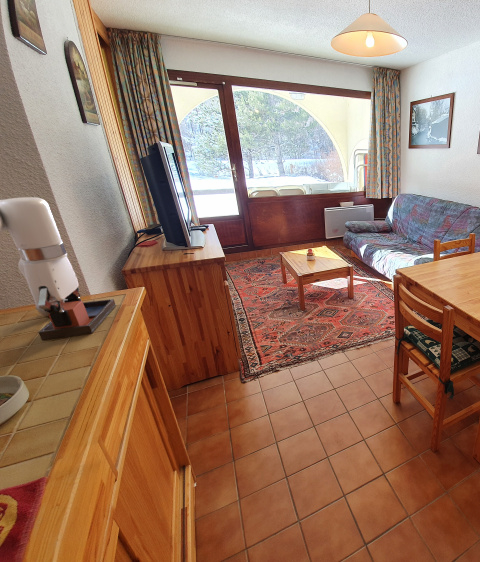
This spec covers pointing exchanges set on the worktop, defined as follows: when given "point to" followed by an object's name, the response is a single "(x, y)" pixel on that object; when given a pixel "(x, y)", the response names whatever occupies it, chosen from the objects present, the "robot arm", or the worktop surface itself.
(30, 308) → the worktop surface
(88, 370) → the worktop surface
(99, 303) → the sorting tray
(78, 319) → the red block
